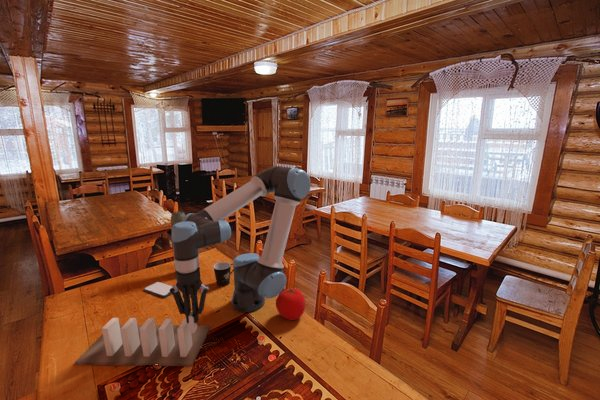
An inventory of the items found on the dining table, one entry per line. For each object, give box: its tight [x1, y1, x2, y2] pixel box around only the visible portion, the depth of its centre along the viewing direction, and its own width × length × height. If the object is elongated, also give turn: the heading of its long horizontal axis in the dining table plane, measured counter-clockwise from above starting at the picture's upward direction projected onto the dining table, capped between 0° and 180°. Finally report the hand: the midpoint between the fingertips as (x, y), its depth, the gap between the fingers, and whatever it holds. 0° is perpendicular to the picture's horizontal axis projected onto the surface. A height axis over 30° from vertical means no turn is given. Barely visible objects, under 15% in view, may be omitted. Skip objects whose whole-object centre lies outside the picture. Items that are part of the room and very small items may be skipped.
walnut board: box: [74, 324, 211, 367], centre depth 112 cm, size 40×20×1 cm, turn 89°
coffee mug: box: [212, 261, 234, 287], centre depth 155 cm, size 12×9×10 cm
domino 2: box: [121, 317, 140, 356], centre depth 106 cm, size 2×6×11 cm, turn 179°
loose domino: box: [177, 317, 192, 357], centre depth 106 cm, size 2×6×11 cm, turn 179°
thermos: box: [170, 211, 186, 272], centre depth 162 cm, size 9×12×35 cm
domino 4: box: [158, 317, 175, 357], centre depth 106 cm, size 2×6×11 cm, turn 179°
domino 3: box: [140, 317, 158, 357], centre depth 106 cm, size 2×6×11 cm, turn 179°
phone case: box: [143, 281, 173, 299], centre depth 149 cm, size 9×2×16 cm
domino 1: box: [101, 317, 123, 356], centre depth 107 cm, size 2×6×11 cm, turn 179°
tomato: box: [275, 287, 306, 321], centre depth 127 cm, size 12×12×13 cm
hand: (193, 330), depth 105 cm, fingers closed
